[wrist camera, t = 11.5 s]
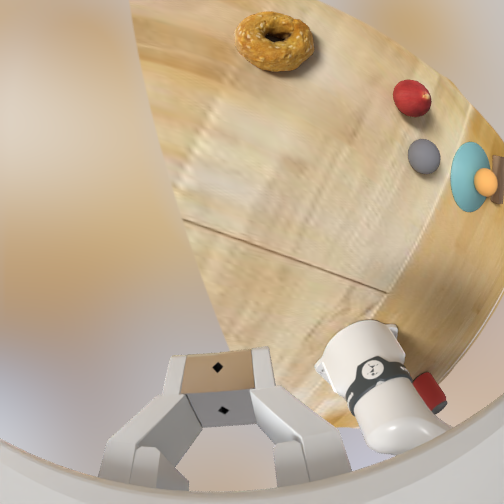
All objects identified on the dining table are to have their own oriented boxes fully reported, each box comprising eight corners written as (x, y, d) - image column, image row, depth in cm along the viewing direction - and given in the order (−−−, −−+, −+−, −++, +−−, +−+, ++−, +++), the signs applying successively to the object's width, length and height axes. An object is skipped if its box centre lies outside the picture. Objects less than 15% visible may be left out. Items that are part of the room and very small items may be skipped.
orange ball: (503, 194, 33) (494, 194, 32) (483, 197, 39) (473, 198, 37) (497, 166, 33) (488, 164, 32) (477, 171, 38) (466, 170, 37)
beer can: (406, 386, 59) (424, 417, 48) (422, 369, 57) (443, 400, 46) (418, 388, 60) (435, 416, 49) (433, 372, 58) (452, 400, 47)
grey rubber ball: (437, 148, 29) (413, 174, 33) (451, 162, 31) (430, 185, 35) (416, 126, 32) (395, 151, 36) (432, 141, 34) (413, 163, 38)
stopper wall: (497, 155, 36) (505, 157, 33) (495, 200, 40) (502, 203, 37) (492, 155, 36) (500, 156, 33) (490, 200, 40) (498, 203, 37)
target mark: (493, 197, 39) (493, 197, 39) (456, 222, 41) (457, 222, 41) (482, 134, 34) (483, 134, 34) (443, 153, 36) (444, 153, 36)
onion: (410, 86, 31) (441, 80, 24) (414, 119, 34) (445, 119, 26) (381, 81, 31) (410, 72, 24) (385, 116, 33) (416, 113, 26)
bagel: (311, 79, 31) (321, 70, 27) (231, 72, 31) (231, 61, 26) (312, 23, 28) (321, 10, 23) (236, 15, 27) (236, 0, 23)
